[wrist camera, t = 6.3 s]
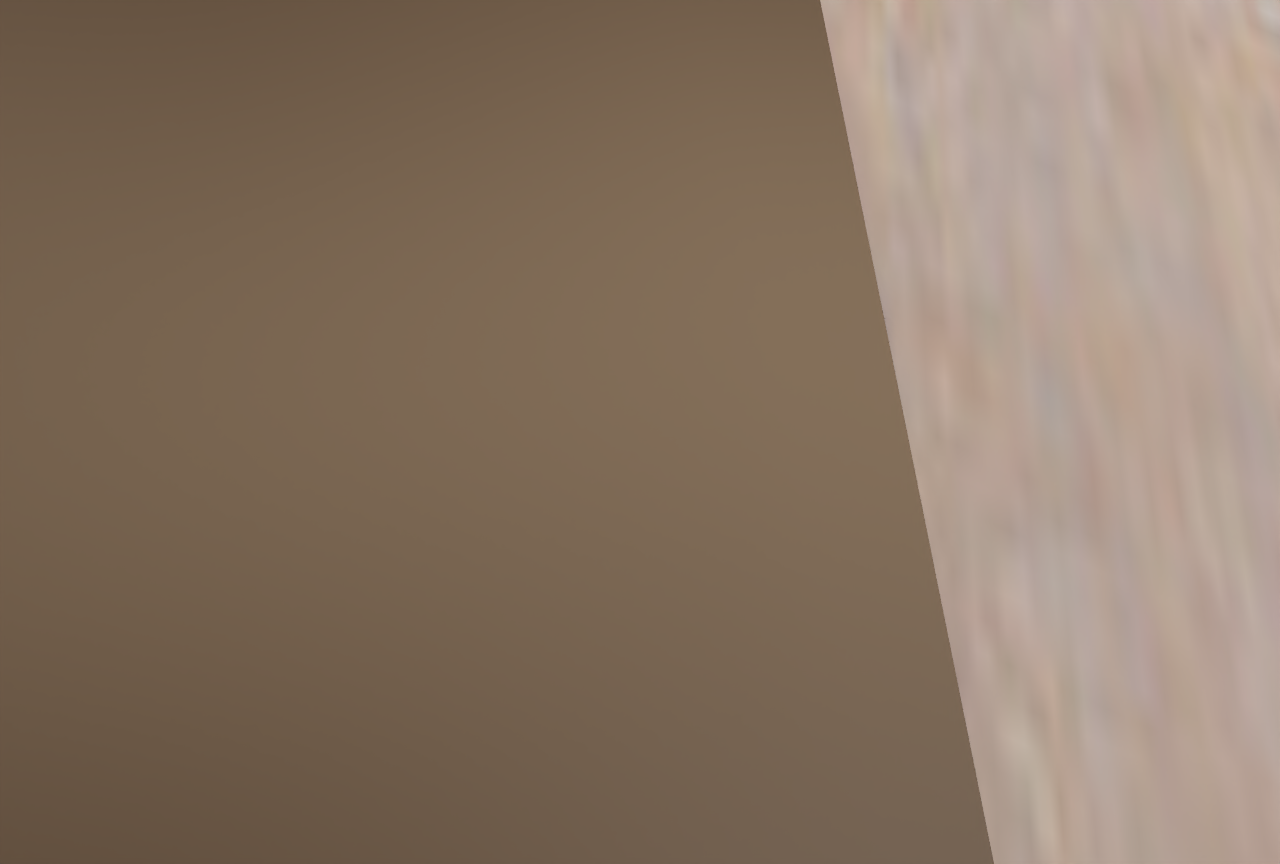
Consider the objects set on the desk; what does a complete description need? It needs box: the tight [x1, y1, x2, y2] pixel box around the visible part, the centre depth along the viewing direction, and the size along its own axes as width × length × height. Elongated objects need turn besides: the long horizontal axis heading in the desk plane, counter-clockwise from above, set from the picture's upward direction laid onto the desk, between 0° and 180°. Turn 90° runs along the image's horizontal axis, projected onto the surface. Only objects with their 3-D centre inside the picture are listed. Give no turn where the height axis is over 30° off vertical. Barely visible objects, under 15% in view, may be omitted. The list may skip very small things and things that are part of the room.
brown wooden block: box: [0, 0, 994, 864], centre depth 10 cm, size 10×4×13 cm, turn 7°
